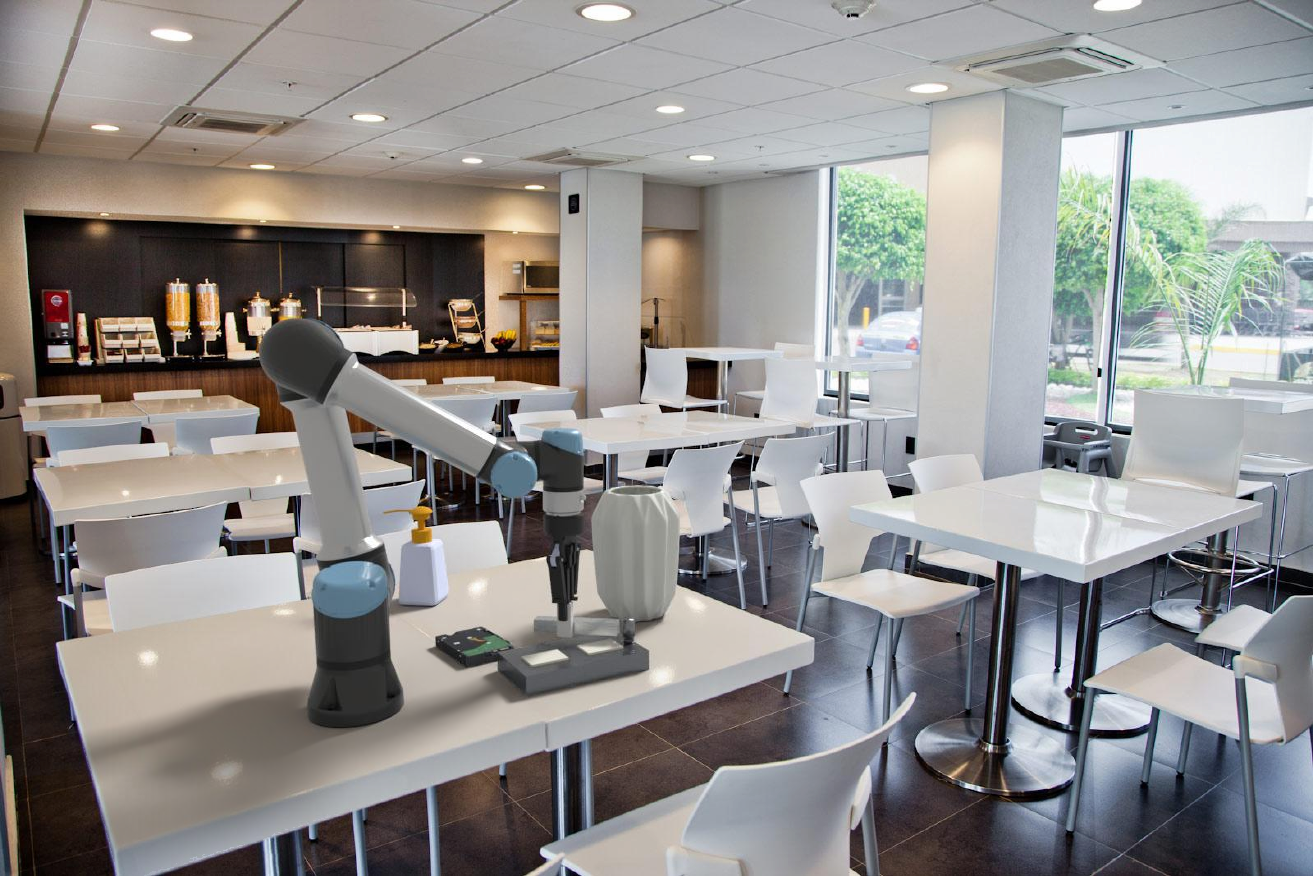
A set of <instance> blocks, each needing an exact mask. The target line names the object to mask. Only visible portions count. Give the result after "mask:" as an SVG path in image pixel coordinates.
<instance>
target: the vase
mask: <svg viewBox="0 0 1313 876" xmlns="http://www.w3.org/2000/svg"><path fill="white" fill-rule="evenodd" d="M591 536H592V537H591V538H592V549H593V550H592V551H593V561H594V562H593V563H594V564H593V565H594V574H595V575H594V576H595V582H596V592H597V595H598V597H599V599H600V600H601V602H602V603H603V605H604V606H605V608H606V609H607V611H608V613H609V615H611V618H612V619H619V621H622V618H624V617H633V618H635V623H637V622H649V621H652V620H653V619H654V620H655V619H660V618H661V617H663V616H662V615H665V614H666V612H667V611H668V609H669V607H670V605H671V603H672V601H673V599H674V598H675V595H676V590H677V583H678V571H679V555H680V554H679V553H680V536H681V512H680V511H679V509H678V507H677V505H676V503H675V501H674V500H673V498H672V496H671V494H670V492H669V491H668V490H666V489H665V487H658V486H654V485H622V486H618V487H610V488H609V489H606V490H604V492H603V493H602V495H601V497H600V499H599V500H598V503H597V505H596V506H595V509H594V511H593V513H592V515H591Z"/></svg>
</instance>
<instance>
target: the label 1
mask: <svg viewBox="0 0 1313 876" xmlns="http://www.w3.org/2000/svg"><path fill="white" fill-rule="evenodd" d="M521 659H522V660H524V661H525V662H526V663H527V664H528V665H530V666H531V667H536V666H541V665H545V664H550V663H555V662H560V661H565V660H569V658H568V657H567V656H566V655H564V654H563V653H562V652H560V651H559V650H557V649H556V650H551V651H546V652H541V653H536V654H531V655H526V656H521Z"/></svg>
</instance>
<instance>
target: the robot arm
mask: <svg viewBox="0 0 1313 876" xmlns="http://www.w3.org/2000/svg"><path fill="white" fill-rule="evenodd" d="M345 347H346V346H345V344H344V342H343V340H342V339H341V337H340V335H339V334H338V333H337V331H336V330H335V329H334V328H332V327H331V326H330V325H328V324H327V323H326V322H324V321H321V320H318V319H314V318H309V317H308V318H299V317H297V318H296V317H293V318H292V317H291V318H285V319H283V320H280V321H278V322H276V323H274V324H273V325H272V326H271V327H270V328H268V329H267V331H265V333H264V335H263V336H262V337H261V339H260V344H259V349H258V359H259V363H260V365H261V368H262V370H263V372H264V373H265V375H266V376H267V377H268V378H269V379H270V380H271V381H272V382H274V383H275V386H276V391H277V395H278V400H279V403H280V405H281V406H283V407H285V408H286V409H287V410H289V411H290V412H291V414H292V418H293V422H294V427H295V430H296V435H297V440H298V443H299V444H298V445H299V447H300V448H299V449H300V452H301V456H302V460H303V466H304V470H305V473H306V478H307V484H308V487H309V490H310V496H311V500H312V504H313V509H314V513H315V517H316V521H317V525H318V530H319V534H320V539H321V543H322V545H321V547H320V549H319V551H318V552H317V554H316V556H315V558H316V563H317V568H318V571H319V572H318V573H317V574H316V575H315V576H314V578H313V580H312V589H311V593H310V595H311V596H310V598H311V602H312V607H313V621H314V622H313V623H314V625H313V627H314V643H315V646H314V647H315V658H316V669H315V673H314V676H313V680H312V684H311V688H310V689H309V690H310V691H309V694H308V697H307V701H306V702H307V703H306V706H307V707H306V708H307V717H308V719H309V720H310V721H311V722H312V723H314V724H317V725H319V726H324V727H330V728H331V727H332V728H333V727H334V728H348V727H349V728H350V727H357V726H358V727H359V726H363V725H369V724H373V723H376V722H379V721H382V720H385V719H387V718H389V717H391V716H393V715H395V714H397V713H398V712H400V710H401V709H402V708H403V706H404V704H405V698H404V697H405V696H404V687H403V685H402V683H401V680H400V678H399V675H398V673H397V670H396V668H395V665H394V663H393V661H392V654H391V653H392V651H391V634H390V633H391V631H390V630H391V629H390V608H391V605H392V600H393V597H394V594H395V590H396V574H395V571H394V569H393V568H392V567H393V566H392V564H391V563H390V562H389V558H388V554H387V550H386V546H385V545H386V544H385V541H384V539H383V538H381V537H379V536H378V535H376V534H375V533H373V528H372V524H371V518H370V515H369V510H368V505H367V500H366V496H365V492H364V488H363V484H362V477H361V475H360V474H361V473H360V470H359V466H358V465H359V464H358V461H357V460H358V459H357V457H356V456H357V455H356V452H355V447H354V443H353V438H352V434H351V429H350V424H349V420H348V415H347V412H350V413H351V414H353V415H354V416H357V417H359V418H360V419H363V420H365V421H366V422H368V423H371V424H372V425H374V426H377V427H378V428H380V429H382V430H384V431H386V432H388V433H390V434H392V435H394V436H396V437H398V438H399V439H401V440H403V441H405V442H407V443H409V444H411V445H412V446H414V447H416V448H418V449H420V450H422V451H424V452H426V453H429V454H430V455H432V456H434V457H436V458H438V459H439V460H442V461H444V462H446V463H447V464H449V465H451V466H453V467H455V468H457V469H459V470H461V471H463V472H465V473H466V474H469V475H470V476H472V477H474V478H476V479H477V481H478V483H480V484H487V485H489V486H491V487H493V489H495V491H496V492H497V493H499V494H500V495H501V496H503V497H505V498H509V499H519V498H523V497H524V496H527V495H528V494H529V493H531V491H532V490H533V489H534V488H535V486H536V485H537V484H536V483H537V482H542V511H544V512H545V513H544V514H543V517H542V518H543V533H544V534H545V535H546V536H551V538H552V540H551V541H552V542H551V545H550V553H551V555H547V556H546V559H545V560H546V565H547V568H548V576H549V584H550V585H549V586H550V593H551V603H552V604H556V616H557V634H556V637H558V638H566V639H567V638H572V637H574V634H573V617H574V601H575V602H576V601H578V600H579V596H575V595H577V594H578V586H579V585H578V584H579V583H578V581H579V571H580V570H579V569H580V568H579V566H580V555H581V550H582V549H581V548H582V542H577V536H578V535H581V534H583V533H584V532H585V514H584V513H583V510H584V508H585V507H584V505H585V504H584V503H585V501H586V500H587V496H586V495H585V494H584V493H585V492H584V487H585V485H584V481H585V480H584V477H585V476H584V474H585V473H584V470H585V469H584V468H585V466H584V464H585V463H584V462H585V461H584V460H585V459H584V457H585V452H584V444H583V443H584V441H583V434H582V433H581V431H580V430H579V429H577V428H568V427H567V428H565V427H564V428H562V427H561V428H560V427H559V428H558V427H557V428H547V429H544V430H543V431H542V433H541V438H540V439H537V440H524V441H523V440H522V441H521V440H520V441H519V440H515V441H511V440H510V441H509V440H506V441H505V440H504V441H503V440H501V439H500V438H497V437H496V436H494V435H493V434H490V433H489V432H487V431H485V430H483V429H481V428H480V427H477V426H476V425H474V424H472V423H471V422H468V421H466V420H465V419H463V418H461V417H459V416H457V415H455V414H453V413H451V412H450V411H448V410H446V409H444V408H443V407H440V406H439V405H437V404H435V403H433V402H431V401H429V400H428V399H426V398H425V397H422V396H420V394H417V393H415V392H413V391H412V390H409V389H407V388H406V387H404V386H402V385H400V384H399V383H397V382H394V381H393V380H391V379H389V378H387V377H386V376H383V375H382V374H380V373H378V372H376V371H374V370H373V369H370V368H369V367H367V366H366V365H364V364H362V363H360V362H359V361H358V358H357V354H356V353H354V352H352V351H351V350H349V349H347V348H345Z"/></svg>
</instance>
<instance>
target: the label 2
mask: <svg viewBox="0 0 1313 876" xmlns="http://www.w3.org/2000/svg"><path fill="white" fill-rule="evenodd" d="M577 648H579V649H580V650H582V651H583V652H584V653H586V654H587V655H594V654H599V653H604V652H609V651H613V650H618V649H623V646H622V645H620V644H619V643H617V642H615V641H614V640H612V639H606V640H601V641H596V642H591V643H586V644H581V645H577Z"/></svg>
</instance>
